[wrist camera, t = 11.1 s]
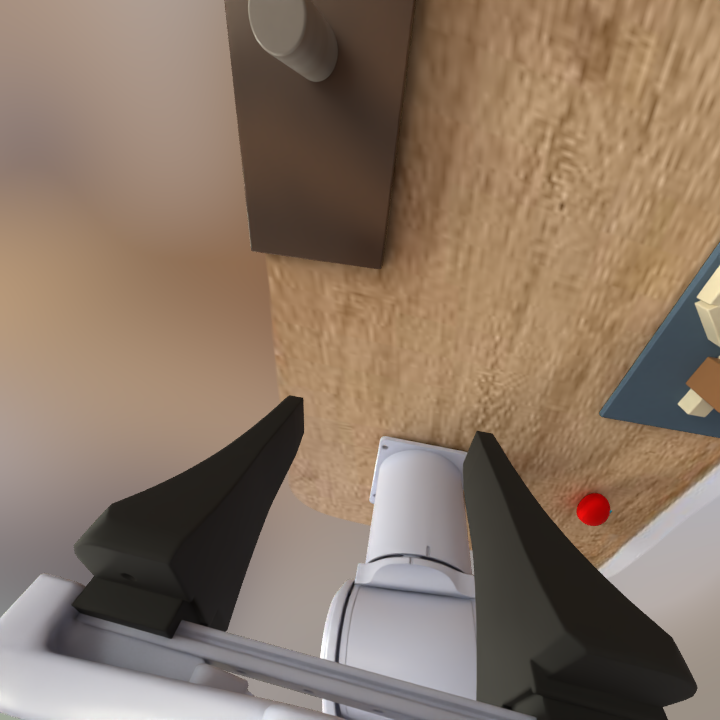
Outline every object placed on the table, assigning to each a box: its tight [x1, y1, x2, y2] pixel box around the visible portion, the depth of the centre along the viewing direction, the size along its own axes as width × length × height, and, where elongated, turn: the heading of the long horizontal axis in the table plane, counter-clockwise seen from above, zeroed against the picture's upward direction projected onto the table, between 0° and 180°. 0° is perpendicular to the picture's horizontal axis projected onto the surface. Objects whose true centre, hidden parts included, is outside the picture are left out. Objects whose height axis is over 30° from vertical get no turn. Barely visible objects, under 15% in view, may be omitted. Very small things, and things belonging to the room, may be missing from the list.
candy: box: [577, 493, 612, 526], centre depth 25 cm, size 3×2×2 cm, turn 176°
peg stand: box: [224, 0, 416, 269], centre depth 13 cm, size 14×8×5 cm, turn 175°
